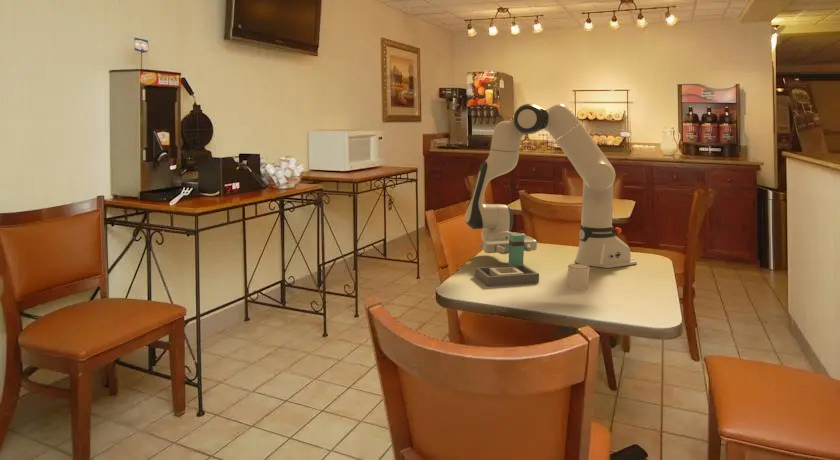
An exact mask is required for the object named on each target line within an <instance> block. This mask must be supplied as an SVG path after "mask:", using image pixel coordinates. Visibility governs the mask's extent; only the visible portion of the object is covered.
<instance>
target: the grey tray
mask: <svg viewBox="0 0 840 460" xmlns="http://www.w3.org/2000/svg"><path fill="white" fill-rule="evenodd" d="M474 272H475V273H474V276H475V277H476V278H477V279H479V281H480V282H482V283H483V284H484V285H485V286H487V287H495V286H496V287H497V286H510V285H511V286H512V285H522V284H537V283H540V273H539V272H537V271H535V270H534V269H532V268H530V267H529V266H527V265H525V264H524V263H523V265H509V264H508V265H496V266H495V265H494V266H482V267H481V266H480V267H479V266H478V267H475V268H474Z"/></svg>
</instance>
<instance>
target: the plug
mask: <svg viewBox="0 0 840 460" xmlns="http://www.w3.org/2000/svg"><path fill="white" fill-rule="evenodd" d="M516 233H517V234H509V253H508V265H523V264H524V256H525V255H524V254H525V253H524V252H525V251H524V235H522V234H520V233H521V232H516Z"/></svg>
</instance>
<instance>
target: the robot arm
mask: <svg viewBox="0 0 840 460" xmlns="http://www.w3.org/2000/svg"><path fill="white" fill-rule="evenodd" d="M542 130H545V131H546V132H548V133H549V134H550V135H551V137H552V138H553V140H554V141H555V142H556V144H557V145H558V146H559V147H560V149H561V151H562V152H563V153H564V154H565V156H566V157H567V159H568V160H569V162H570V163H571V164H572V166H573V167H574V169H575V171H576V172H577V173H578V175H579V176H580V178H581V179H582V200H581V201H582V203H581V222H580V225H579V244H578V249H577V253H576V256H575V260H574V262H576V264H584V265H588V266H590V267H595V268H596V267H597V268H603V269H611V268H618V267H624V266H632V265H637V264H638V260H636V259H635V258H633V257H632V256H631V255H632V254H631V249H630V247H629V245H628V244H627V243H626V242H624V241H623V240H622V239H620V238H619V237H618V236H616V233H617V234H621V233H622V228H620V227H617V226H616V227H615V226H613V211H614V182H615V180H616V171H615V168H614V167H613V165H612V163H611V162H610V160H609V159H608V158H607V157H606V155H605V154H604V153H603V151H602V150H601V149H600V147H599V146H598V144H597V142H596V141H595V140H594V139H593V137H592V136H591V135H590V133H589V132H588V131H587V129H586V128H585V126H584V125H583V124H582V122H581V121H580V119H578V117H577V116H576V114H574V113H573V111H572V110H570V109H569V107H568V106H566V105H565V104H562V103H557V104H554V105H552V106H550V107H549V108H547V109H545V108H543V107H541V106H539V105H538V104H535V103H525V104H522V105H520V106H519V107H518V108H517V109H516V110H515V112H514V114H513V119H512V120H502V121H500V122H498V123H497V124H496V125H495V126H494V129H493V133H492V138H491V142H490V150H489V154H488V156H487V158H486V160H485V161H484V162H482V163H481V164H480V166H479V168H478V170H477V174H476V178H475V181H474V185H473V188H472V192H471V196H470V199H469V203H468V205H467V208H466V210H465V215H464V219H465V220H464V221H465V223H466V225H467V226H469V227H470V229H472V230H481V233H480V236H481V240H482V242H481V243H479V244H478V246H479V247H480V248H482V250H483V252H484V253H485V254H499V255H509V234H517V233H518V232H512V231H511V230H512V229H513V224H514V214H513V212H512V209H511V208H510V207H509V206H508V205H507V204H501V203H494V204H493V203H483V201H484V197H485V193H486V191H487V190H486V189H487V186H488V184H489V183H490V181H492V180H493V179H495V178H497V177H500V176H502V175H503V176H504V175H506V174H508V173H509V172H512V171H513V170H514V169H515V168H516V166H518V165H517V164H518V161H519V158H520V150H521V149H520V148H521V141H522V138H523V137H524V136H526V135H533V134H537V133H538V132H540V131H542ZM519 233H520V234H522V235H524V252H533V251H536V250H537V248H538V246H537V245H538V241H537V240H536V239H534V238H533V237H531V236H528V235H526V233H523V232H519Z"/></svg>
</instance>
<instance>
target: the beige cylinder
mask: <svg viewBox="0 0 840 460" xmlns="http://www.w3.org/2000/svg"><path fill="white" fill-rule="evenodd" d="M567 269H568V270H567V273H568V276H567V277H568V287H569V288H570V289H572V290H586V289H587V288H588V283H589V277H590V269H591V266H588V265H584V264H579V263H571V264H568V265H567Z"/></svg>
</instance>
